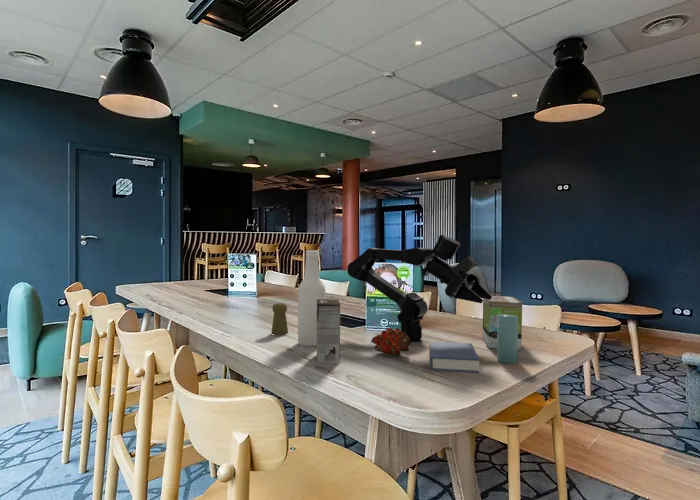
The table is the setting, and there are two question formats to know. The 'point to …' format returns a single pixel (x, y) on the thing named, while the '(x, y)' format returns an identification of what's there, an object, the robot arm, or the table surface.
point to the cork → (279, 319)
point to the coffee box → (328, 331)
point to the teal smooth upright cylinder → (507, 338)
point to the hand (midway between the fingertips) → (486, 300)
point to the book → (453, 357)
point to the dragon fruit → (392, 342)
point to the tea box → (491, 317)
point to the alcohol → (309, 300)
